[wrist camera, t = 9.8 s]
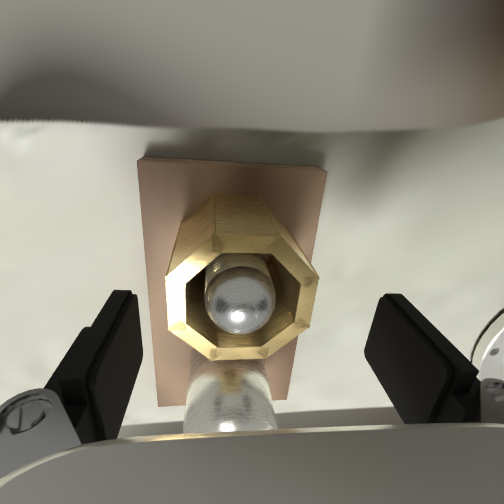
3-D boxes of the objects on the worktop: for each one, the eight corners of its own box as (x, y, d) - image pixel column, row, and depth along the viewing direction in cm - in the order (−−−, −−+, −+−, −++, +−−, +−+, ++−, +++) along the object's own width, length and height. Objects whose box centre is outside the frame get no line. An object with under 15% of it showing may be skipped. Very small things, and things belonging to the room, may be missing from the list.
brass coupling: (290, 195, 17) (327, 236, 11) (278, 288, 19) (304, 357, 14) (179, 191, 16) (161, 232, 10) (181, 288, 18) (169, 362, 13)
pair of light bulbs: (278, 221, 17) (316, 285, 11) (259, 384, 23) (277, 488, 16) (186, 219, 16) (171, 285, 10) (190, 387, 22) (181, 497, 16)
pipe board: (318, 167, 18) (327, 171, 16) (282, 384, 25) (286, 399, 24) (143, 156, 16) (136, 160, 15) (161, 389, 24) (158, 406, 22)
